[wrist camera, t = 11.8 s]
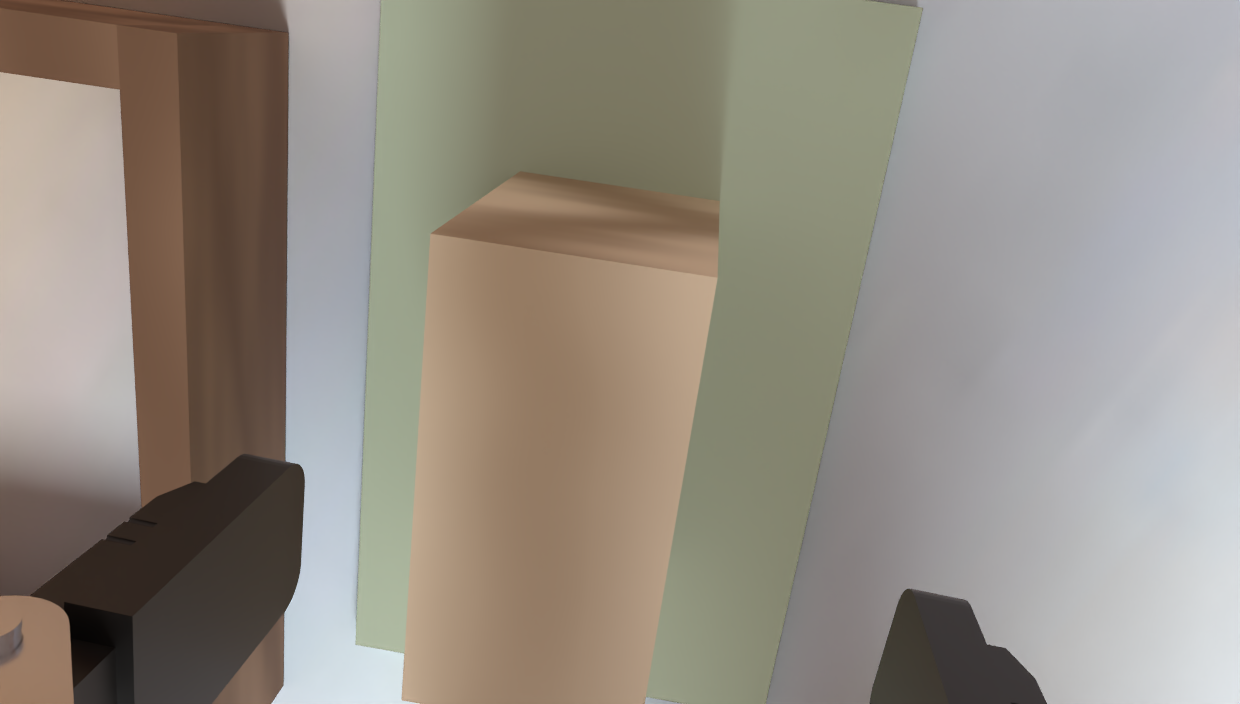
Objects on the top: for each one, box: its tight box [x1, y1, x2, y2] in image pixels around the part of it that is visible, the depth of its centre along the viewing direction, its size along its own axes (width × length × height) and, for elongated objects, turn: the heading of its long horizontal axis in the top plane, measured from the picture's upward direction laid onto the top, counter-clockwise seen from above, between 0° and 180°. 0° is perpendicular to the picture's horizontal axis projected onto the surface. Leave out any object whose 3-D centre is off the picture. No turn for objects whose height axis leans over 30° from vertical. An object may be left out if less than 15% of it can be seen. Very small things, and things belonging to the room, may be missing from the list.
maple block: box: [402, 171, 720, 704], centre depth 17 cm, size 4×8×6 cm, turn 173°
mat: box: [355, 0, 923, 704], centre depth 20 cm, size 10×16×1 cm, turn 173°
